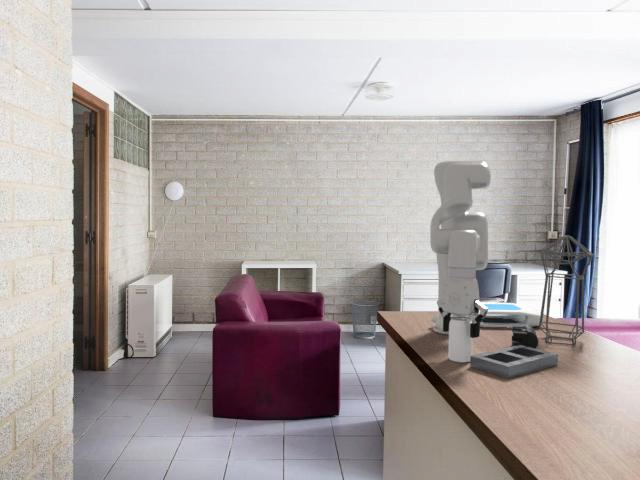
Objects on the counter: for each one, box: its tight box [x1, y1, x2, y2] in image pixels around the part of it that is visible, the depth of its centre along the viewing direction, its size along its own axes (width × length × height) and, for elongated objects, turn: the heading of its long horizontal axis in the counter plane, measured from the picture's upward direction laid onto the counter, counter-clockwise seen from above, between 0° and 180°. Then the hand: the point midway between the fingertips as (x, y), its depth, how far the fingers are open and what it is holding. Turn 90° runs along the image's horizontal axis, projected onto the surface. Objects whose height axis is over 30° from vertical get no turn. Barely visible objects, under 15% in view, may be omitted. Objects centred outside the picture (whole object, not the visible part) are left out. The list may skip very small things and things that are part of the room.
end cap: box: [511, 325, 539, 349], centre depth 157 cm, size 10×7×7 cm
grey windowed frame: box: [469, 345, 559, 379], centre depth 140 cm, size 12×22×3 cm, turn 124°
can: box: [447, 316, 473, 364], centre depth 145 cm, size 6×6×12 cm
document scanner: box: [466, 301, 544, 329], centre depth 198 cm, size 21×28×6 cm
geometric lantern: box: [538, 235, 596, 346], centre depth 167 cm, size 16×16×35 cm
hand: (460, 334), depth 144 cm, fingers open, 9 cm apart
